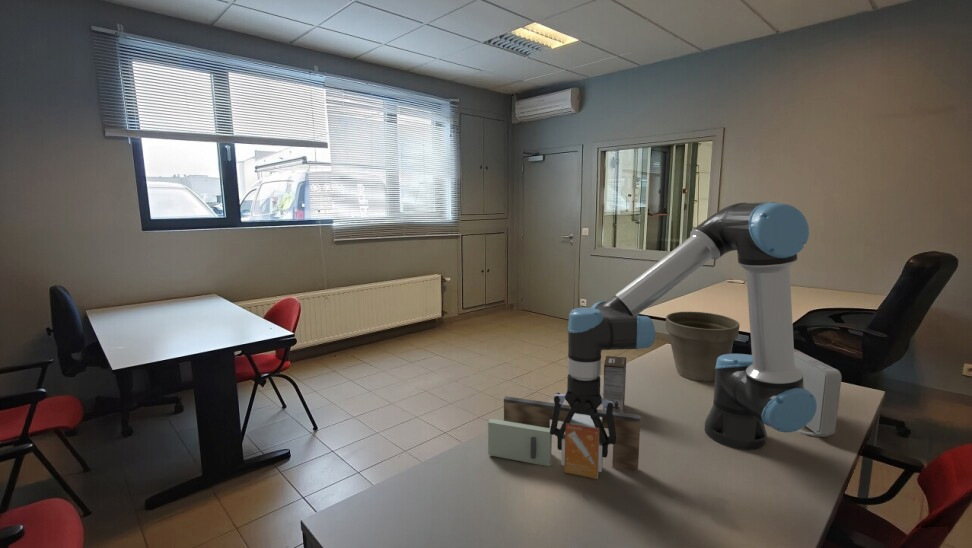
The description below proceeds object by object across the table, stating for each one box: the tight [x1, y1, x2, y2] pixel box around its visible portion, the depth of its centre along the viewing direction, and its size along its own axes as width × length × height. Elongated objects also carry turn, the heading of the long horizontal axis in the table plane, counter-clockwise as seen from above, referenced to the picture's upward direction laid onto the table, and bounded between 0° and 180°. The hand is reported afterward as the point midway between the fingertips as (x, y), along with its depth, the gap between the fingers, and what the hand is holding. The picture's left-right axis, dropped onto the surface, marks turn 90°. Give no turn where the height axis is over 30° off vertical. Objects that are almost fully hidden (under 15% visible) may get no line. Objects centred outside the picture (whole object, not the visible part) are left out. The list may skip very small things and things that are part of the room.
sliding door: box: [487, 418, 553, 468], centre depth 112 cm, size 16×3×9 cm, turn 70°
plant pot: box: [665, 311, 740, 382], centre depth 168 cm, size 25×25×22 cm
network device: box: [794, 348, 843, 437], centre depth 132 cm, size 26×9×20 cm, turn 178°
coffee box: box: [602, 355, 627, 413], centre depth 140 cm, size 9×6×16 cm
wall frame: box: [503, 396, 641, 473], centre depth 113 cm, size 34×2×14 cm, turn 70°
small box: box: [563, 413, 602, 480], centre depth 108 cm, size 8×6×13 cm
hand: (581, 465), depth 107 cm, fingers closed on small box, 8 cm apart
